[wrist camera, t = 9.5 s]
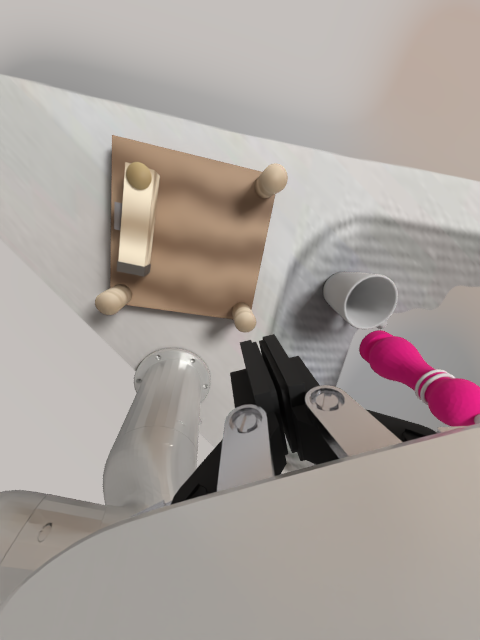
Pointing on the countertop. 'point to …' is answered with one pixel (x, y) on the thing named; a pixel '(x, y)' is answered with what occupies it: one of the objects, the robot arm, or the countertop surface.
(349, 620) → the robot arm
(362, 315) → the cup
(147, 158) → the stool seat
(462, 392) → the pepper mill
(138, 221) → the folding leg
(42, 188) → the countertop surface
